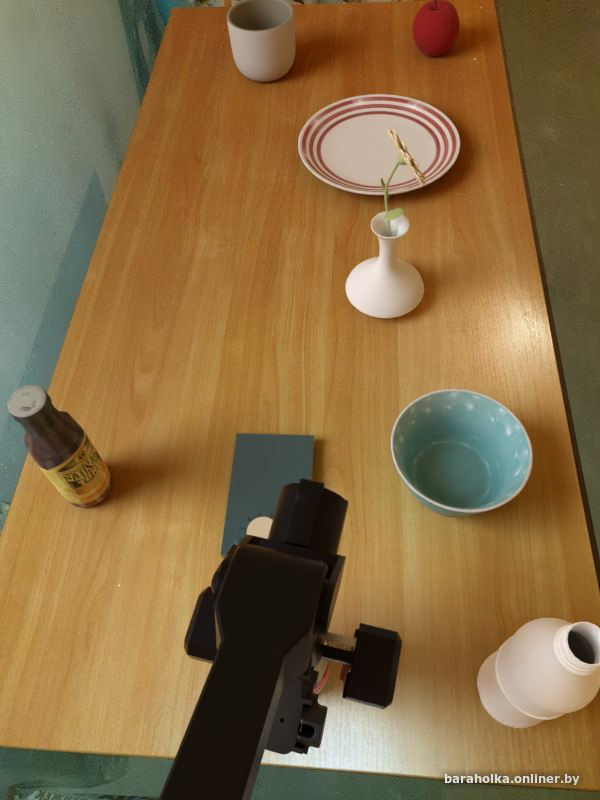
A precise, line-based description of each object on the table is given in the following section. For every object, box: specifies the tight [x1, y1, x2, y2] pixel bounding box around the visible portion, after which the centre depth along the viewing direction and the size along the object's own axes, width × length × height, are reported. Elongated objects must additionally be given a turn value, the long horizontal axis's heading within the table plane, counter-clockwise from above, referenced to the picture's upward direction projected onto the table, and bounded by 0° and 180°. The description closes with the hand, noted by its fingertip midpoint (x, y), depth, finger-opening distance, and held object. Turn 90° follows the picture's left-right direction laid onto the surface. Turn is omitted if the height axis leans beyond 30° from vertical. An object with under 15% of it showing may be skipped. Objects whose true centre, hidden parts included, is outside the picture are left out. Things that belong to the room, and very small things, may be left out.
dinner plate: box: [297, 93, 461, 196], centre depth 109 cm, size 27×27×3 cm
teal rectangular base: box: [220, 432, 315, 559], centre depth 77 cm, size 17×10×3 cm, turn 176°
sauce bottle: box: [6, 384, 112, 509], centre depth 72 cm, size 6×6×20 cm
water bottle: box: [476, 617, 600, 729], centre depth 55 cm, size 7×7×25 cm
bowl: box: [389, 388, 534, 518], centre depth 75 cm, size 16×16×8 cm
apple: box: [411, 0, 461, 57], centre depth 122 cm, size 9×9×10 cm
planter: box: [226, 0, 296, 83], centre depth 121 cm, size 12×12×11 cm
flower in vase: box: [345, 127, 426, 320], centre depth 84 cm, size 13×11×25 cm
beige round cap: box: [247, 517, 273, 539], centre depth 72 cm, size 4×4×2 cm
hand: (298, 661), depth 64 cm, fingers open, 9 cm apart
